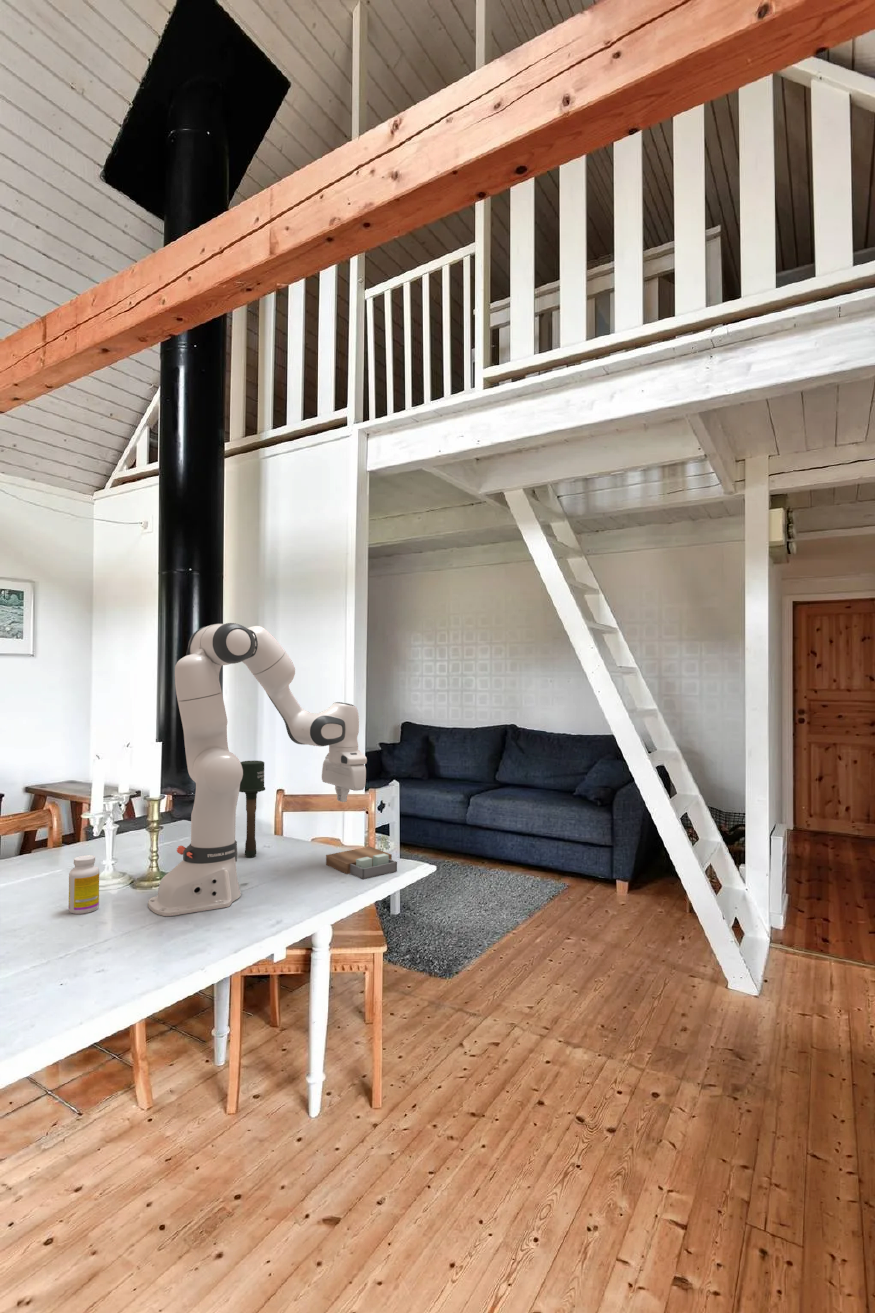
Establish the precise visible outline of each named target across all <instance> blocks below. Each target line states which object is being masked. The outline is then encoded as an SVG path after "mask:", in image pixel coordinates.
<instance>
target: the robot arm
mask: <svg viewBox="0 0 875 1313" xmlns="http://www.w3.org/2000/svg"><path fill="white" fill-rule="evenodd" d="M241 662H242V663H243V664H244V665H245V666H246V667H247V668H248V670H249V672H250V673H251V674H252V675H253V677H254V678H255V679H256V680H257V681H258V683H259V684H260V686H261V687H262V689H263V690H264V691H265V693H266V695H267V697H268V698H269V700H270V701H271V703H272V704H273V707H275V709H276V711H277V712H278V714H280V716H281V718H282V720H283V722H284V724H285V725H284V726H285V728H286V732H287V735H288V737H289V739H290V740H291V741H292V742H293V743H295V744H297V745H309V746H313V747H315V746H316V747H326V746H328V753H327V754H326V756H325V758H324V760H323V763H322V770H321V780H322V782H323V783H326V784H329V785H333V786H335V787H334V790H335V793H336V800H337V801H339V802H341V803H346V802H347V800H348V796H349V793H350V791H356V792H357V791H363V790H364V789H365V787H366V783H367V782H366V781H367V780H366V779H367V768H366V766H365V765H366V764H367V762H368V759H367V756H366V755H365V754H364V753H362V752H361V751H360V750H359V742H358V735H359V731H360V729H359V728H360V720H359V719H360V718H359V717H360V716H359V711H358V708H357V706H355V705H354V704H351V703H348V702H340V701H337V702H336V701H335V702H333V703H332V705H330V706H329V707H327V708H326V709H324V710H323V711H321V712H320V711H319V712H318V713H315V712H314V713H313V712H310V711H307V710H305V709H304V708H302V707H301V705H300V704H299V702H298V699H297V698H296V697H295V696H294V693H292V690H291V689H290V684H291V683H292V682H293V680H294V678H295V674H296V667H295V665H294V663H293V661H292V659H291V657H290V656H289V654H288V653H287V651H286V650H285V649H284V648H283V646H282V644H281V643H279V641H278V640H277V639H276V638H275V637H274V636H273V635H272V634H271V633H270V631H268V630H267V629H266V628H264V627H263V626H260V625H253V626H249V627H246V626H244V625H241V624H239V623H236V622H235V623H234V622H227V623H214V624H210V625H207V626H202V627H200V628H198V629H196V631H195V632H193V634H191V637H190V638H189V641H188V646H187V649H186V655H185V656H183V657H182V658H180V659H178V661H177V662H176V664H175V665H174V681H175V682H174V683H175V693H176V698H177V699H176V700H177V705H178V709H179V714H180V720H181V724H182V725H181V726H182V730H183V740H184V748H185V749H184V750H185V759H186V766H187V767H186V768H187V772H188V775H189V777H190V779H191V780H192V781H193V782H194V783H195V792H194V793H195V794H194V801H193V808H192V811H191V816H190V821H191V823H190V843H189V845H188V846H187V847H185V846H184V845H179V846H178V847H177V848H176V853H178V854H179V855H182V860H181V861H180V862H179V863H178V864H177V865H176V866H175V867H173V868H172V869H171V870H170V871H169V872H168V873H166V874H165V875H163V877H162V878H161V880H160V882H159V886H158V890H157V895H155V896H152V897H150V898H149V899H148V903H147V906H148V909H149V910H150V911H151V912H153V913H155V914H156V915H159V916H164V917H172V916H179V915H185V914H192V913H196V912H202V911H203V912H205V911H210V910H215V909H222V908H228V907H230V906H231V905H232V904H233V902H235V901H236V900H238V899H239V898H241V896H242V893H241V889H240V885H239V880H238V874H237V873H238V872H237V865H236V864H237V861H238V860H237V859H238V841H237V840H236V818H237V817H236V815H237V814H236V813H237V805H238V799H239V795H240V792H239V789H240V782H241V780H242V777H243V769H242V765H241V763H240V762H241V761H240V759H239V758H238V756H236V754H234V753H233V752H231V751H230V750H229V745H228V717H227V711H226V707H225V706H226V705H225V701H224V696H223V691H222V687H221V683H220V674H221V673H220V672H221V668H222V666H228V665H231V664H232V665H233V664H239V663H241Z"/></svg>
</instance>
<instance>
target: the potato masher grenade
mask: <svg viewBox="0 0 875 1313" xmlns="http://www.w3.org/2000/svg"><path fill="white" fill-rule="evenodd" d="M240 763H241V765H242V769H243V777H242V780H241V782H240V789H239V793H245V811H246V839H245V844H244V846H245V848H244V856H245V858H247V859H248V858H255V857H256V855H257V852H258V851H257V840H256V813H257V812H256V811H257V799H258V797H257V796H258V793H259V792H264V791H265V790H266V787H265V762H264V761H262V760H243V761H240Z"/></svg>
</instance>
